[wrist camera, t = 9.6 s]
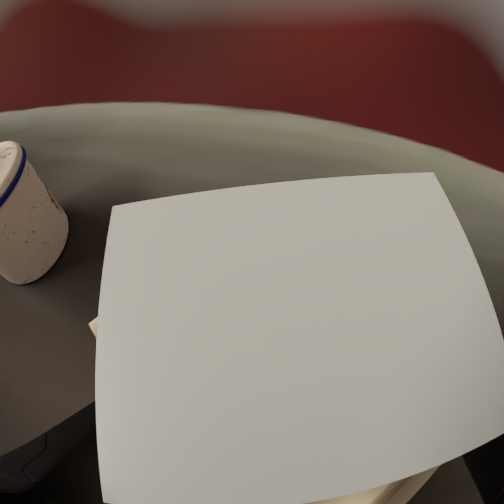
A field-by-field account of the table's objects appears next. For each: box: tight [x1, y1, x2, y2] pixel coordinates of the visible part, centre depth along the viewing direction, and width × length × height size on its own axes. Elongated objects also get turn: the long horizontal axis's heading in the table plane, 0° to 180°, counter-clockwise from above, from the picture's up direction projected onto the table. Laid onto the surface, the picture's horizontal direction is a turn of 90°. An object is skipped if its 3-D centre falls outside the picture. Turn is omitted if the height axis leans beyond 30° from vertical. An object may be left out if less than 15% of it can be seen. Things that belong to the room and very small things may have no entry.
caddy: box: [95, 172, 504, 504], centre depth 11 cm, size 6×7×14 cm
